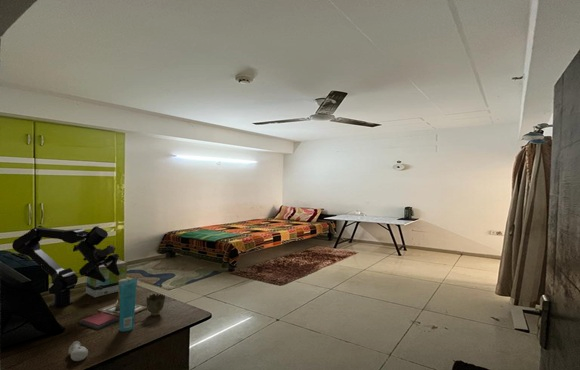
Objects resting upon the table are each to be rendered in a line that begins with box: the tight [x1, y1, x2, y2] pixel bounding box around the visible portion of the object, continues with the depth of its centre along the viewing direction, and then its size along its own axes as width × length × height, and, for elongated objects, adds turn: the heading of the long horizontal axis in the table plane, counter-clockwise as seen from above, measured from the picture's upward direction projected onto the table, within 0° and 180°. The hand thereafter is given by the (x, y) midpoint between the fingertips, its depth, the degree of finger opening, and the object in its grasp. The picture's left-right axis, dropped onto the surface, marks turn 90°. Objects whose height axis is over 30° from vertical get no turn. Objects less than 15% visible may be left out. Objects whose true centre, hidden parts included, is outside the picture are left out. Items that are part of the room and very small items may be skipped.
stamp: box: [115, 278, 130, 311], centre depth 133 cm, size 5×5×12 cm
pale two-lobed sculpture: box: [68, 340, 89, 362], centre depth 98 cm, size 4×8×5 cm
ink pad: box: [78, 312, 120, 331], centre depth 121 cm, size 11×9×1 cm
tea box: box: [85, 259, 128, 298], centre depth 153 cm, size 15×10×15 cm
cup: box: [146, 293, 166, 317], centre depth 130 cm, size 8×7×8 cm
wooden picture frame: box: [97, 302, 148, 319], centre depth 133 cm, size 16×12×1 cm
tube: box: [119, 277, 138, 332], centre depth 117 cm, size 7×5×19 cm, turn 158°
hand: (112, 278), depth 134 cm, fingers open, 9 cm apart
